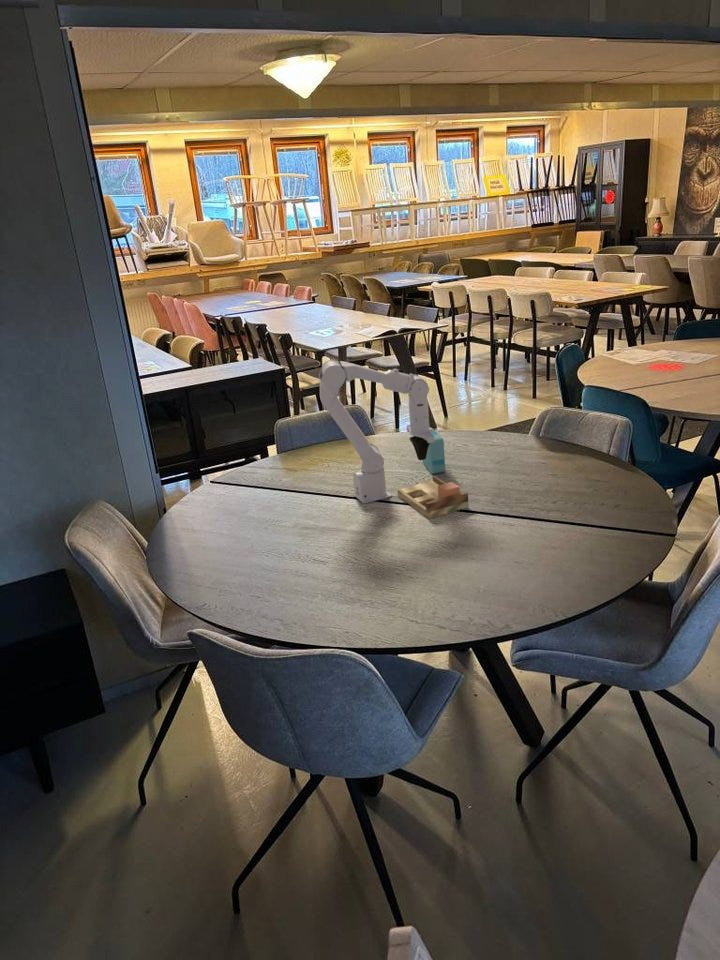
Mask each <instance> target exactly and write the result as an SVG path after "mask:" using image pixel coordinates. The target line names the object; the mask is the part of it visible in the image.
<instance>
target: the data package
mask: <svg viewBox="0 0 720 960" xmlns="http://www.w3.org/2000/svg"><path fill="white" fill-rule="evenodd" d="M431 433H432V435H434V439H435V442H432V443H430V444H429V447H428V450H427V456H426V459H424V460H422V464H423V466H424V467H425V468H426V469H427V471H428V472H429V473H430V475H435V474H442V473H445V472H446V460H445V457H446V456H445V442H444V441H445V440H444V438H443V437H442V436H441V435H440V434H439V433H438V432H437V431H436V430H435V429H433V431H431Z"/></svg>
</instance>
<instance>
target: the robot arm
mask: <svg viewBox="0 0 720 960" xmlns="http://www.w3.org/2000/svg"><path fill="white" fill-rule="evenodd" d="M318 378H319V380H318V381H319V398H320V402H321V403H322V405H323V407H324V408H325V409H326V410H327V412H328V413H329V415H330V416H331V417H332V419H333V420H334V422H335V423H336V425H337V426H338V427H339V428H340V430H341V431H342V433H343V434H344V435H345V437H346V438H347V439H348V442H350V444H351V445H352V446H353V448H354V449H355V451H356V453H357V455H358V456H359V459H360V460H361V462H362V463H361V466H360V470H358V471H357V472H354V473H353V475H352V480H353V488H354V490H353V491H354V494H353V496H354V497H355V498H357V499H358V501H360V502H361V503H362V504H367V503H372V502H376V501H380V500H384V499H387V498H391V497H392V494H391V493H389V492H388V491H387V485H386V484H387V483H386V474H385V472H386V471H385V466H384V463H385V460H384V457H383V456H382V454H381V452H380V449H379V447H378V446H377V445H375V444H373V443H371V442H370V440H369V439H368V438H367V437H366V436H365V434H364V432H363V431H362V430H361V428H360V427H359V426H358V425H357V423H356V421H355V420H354V419H353V418H352V415H351V414H350V413H349V412H348V410H347V409H346V407H345V406H344V405H343V403H342V402H341V400H340V399H339V398H338V397H339V393H340V389H341V387H342V386H343V384H344V383H345V381H346V383H349V382H351V381H353V380H355V379H359V380H363V381H366V382H368V381H369V382H373V383H378V384H381V385H382V387H383V388H384V389H385V390H388V391H392V392H397V393H400V394H404V395H406V394H408V413H409V414H408V415H409V425H406V431H407V433H409V434H410V435H411V436H410V437H409V441H410V442H411V444H412V446H413V448H414V451H415V455H416V457H417V460H418V461H423V460H424V459H426V456H427V450H428V447H429V444H430V443H432V442H435V439H434V435H432V433H431V431H433V430H434V429H433V428H432V427H430V415H429V402H428V401H429V400H428V394H429V392H430V387H429V385H428V383H427V381H426V380H425V379H424V378H423V377H421V375H418V374H413V373H411V372H410V373H409V374H408V373H404V372H401V371H399V369H397V368H392V369H388V370H387V371H386V370H385V372H382V371H379V370H375V369H373V368H369V367H365V366H362V365H359V364H355V363H352V362H348V361H342V360H340V361H338V360H337V359H328V360H326V361H325V362H324V363H323V364H322V365H321V368H320V370H319V373H318Z"/></svg>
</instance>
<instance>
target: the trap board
mask: <svg viewBox="0 0 720 960" xmlns="http://www.w3.org/2000/svg"><path fill="white" fill-rule="evenodd" d="M431 479H432V480H430V481H427V482H422V483H418V484H414V485H410V486H407V487H403V488H398V489H397V496H398V497H399V498H400V499H402V500H403V501H404V502H406V504H408V505H410V506H411V507H412V508H413V509H415V510H416V511H417V512H419V513H420V514H421V515H423V516H424V517H426V518H427V519H433V518H436V517H438V516H443V515H447V514H451V513H454V511H455V512H457V510H458V511H461V510H460V509H462V510H464V508H466V509H468V507H469V493H468V492H466V491H464V492H462V491H460V494H456V495H452V496H449V497H445V498H441V499H438V485H442V484H445V483H447V482H446V481H444V480H443V479H441V478H439V477H438V476H436V475H432V478H431Z"/></svg>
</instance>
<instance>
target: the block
mask: <svg viewBox="0 0 720 960" xmlns="http://www.w3.org/2000/svg"><path fill="white" fill-rule="evenodd" d="M460 492H461V491H460V486H459V485H458V484H455V483H454V482H452V481H449V482H446V483H445V484H442V485H438V499H441V498H445V497H449V496H452V495H456V494H460Z"/></svg>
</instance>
